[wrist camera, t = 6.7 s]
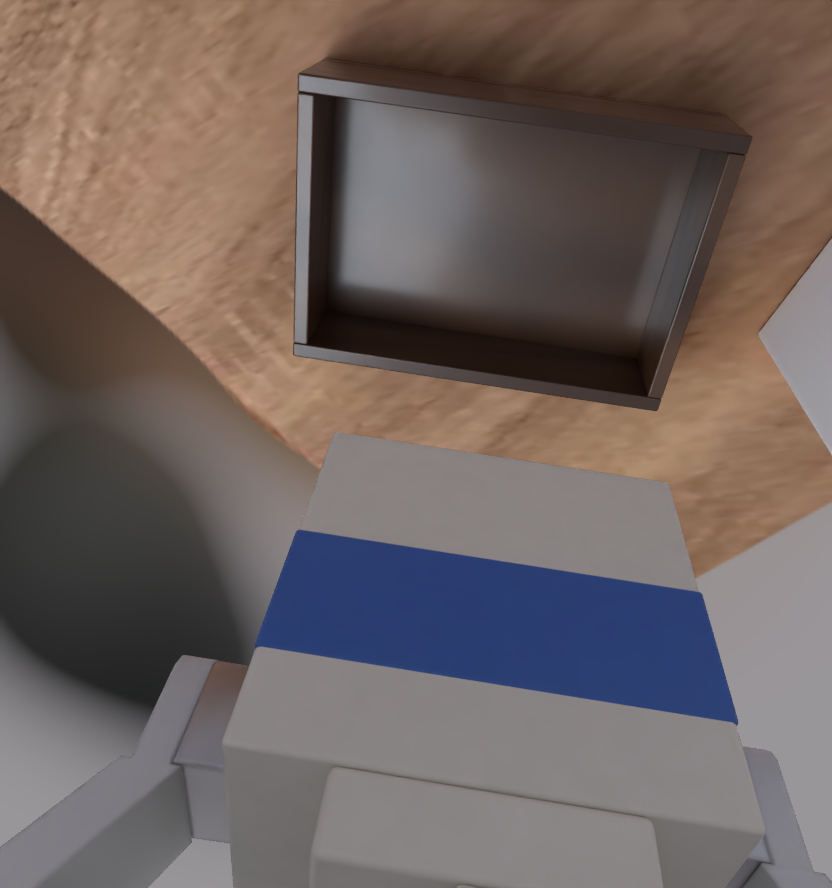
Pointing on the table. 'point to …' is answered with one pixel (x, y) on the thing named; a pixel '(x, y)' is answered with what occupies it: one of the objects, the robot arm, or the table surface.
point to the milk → (807, 342)
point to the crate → (503, 230)
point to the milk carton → (485, 688)
